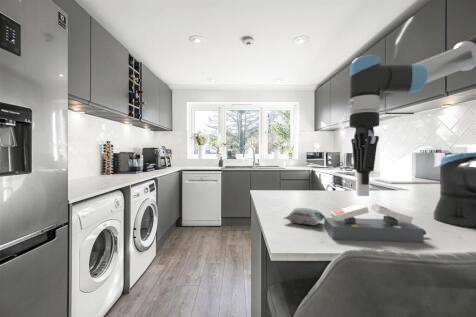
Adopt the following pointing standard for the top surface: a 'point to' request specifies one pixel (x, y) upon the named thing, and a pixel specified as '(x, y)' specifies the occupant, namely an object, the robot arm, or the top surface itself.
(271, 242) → the top surface
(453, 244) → the top surface
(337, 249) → the top surface
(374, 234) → the rocker switch box
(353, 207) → the white switch paddle
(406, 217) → the rocker white
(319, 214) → the packaged food
